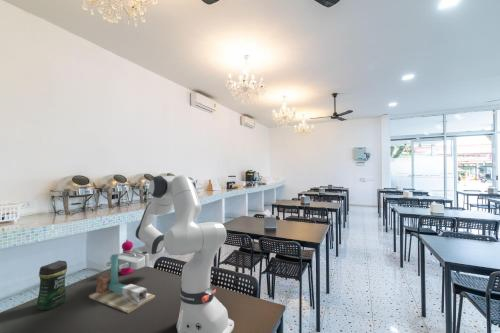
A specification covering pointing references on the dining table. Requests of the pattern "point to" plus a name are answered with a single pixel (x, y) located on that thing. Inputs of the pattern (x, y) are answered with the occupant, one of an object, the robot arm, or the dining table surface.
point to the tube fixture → (120, 295)
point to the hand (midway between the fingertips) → (112, 266)
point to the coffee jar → (52, 285)
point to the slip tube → (114, 276)
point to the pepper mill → (127, 249)
